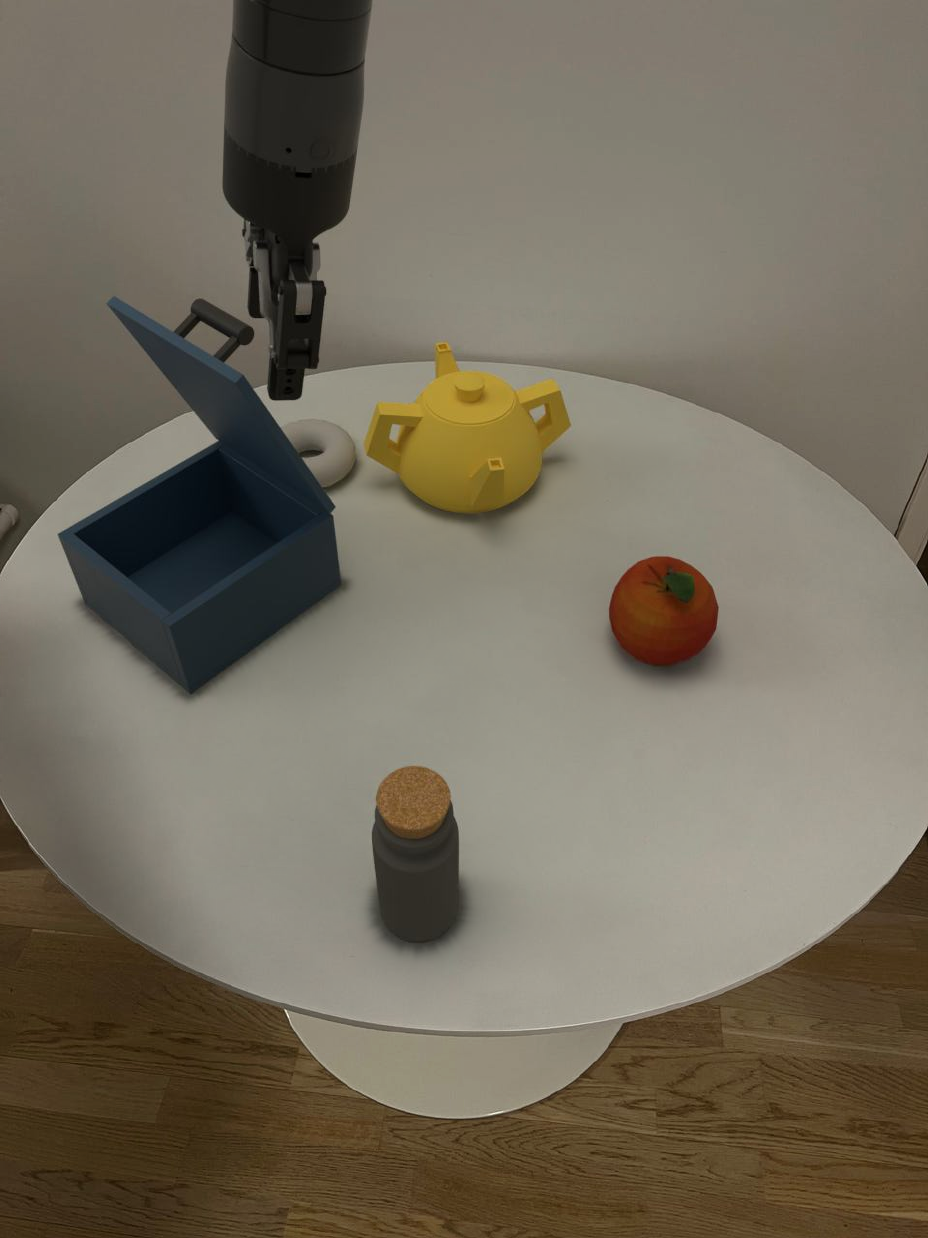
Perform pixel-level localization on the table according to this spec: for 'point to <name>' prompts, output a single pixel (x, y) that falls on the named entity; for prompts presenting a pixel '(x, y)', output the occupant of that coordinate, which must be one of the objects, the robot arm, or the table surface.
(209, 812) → the table surface
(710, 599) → the fruit
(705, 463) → the table surface
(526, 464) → the teapot
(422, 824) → the bottle
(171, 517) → the cool box
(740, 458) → the table surface
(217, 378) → the cool box lid
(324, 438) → the donut
